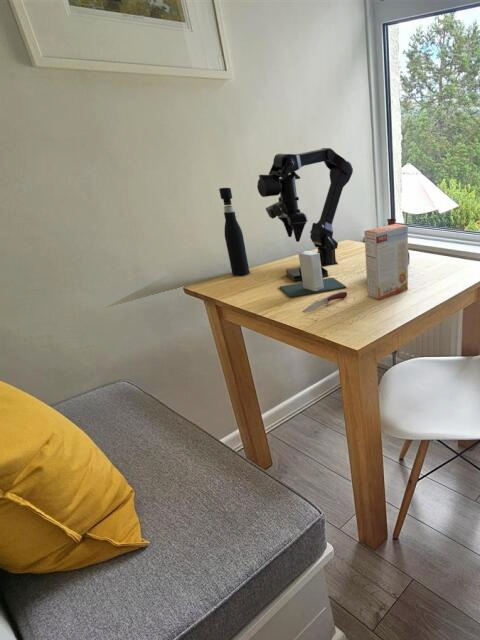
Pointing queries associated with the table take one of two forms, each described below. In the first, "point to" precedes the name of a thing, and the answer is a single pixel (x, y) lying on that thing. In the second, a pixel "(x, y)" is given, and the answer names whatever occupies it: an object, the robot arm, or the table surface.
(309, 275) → the cosmetic box
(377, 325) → the table surface
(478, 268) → the table surface
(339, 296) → the knife
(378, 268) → the cracker box
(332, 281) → the mat
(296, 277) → the control block
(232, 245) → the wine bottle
